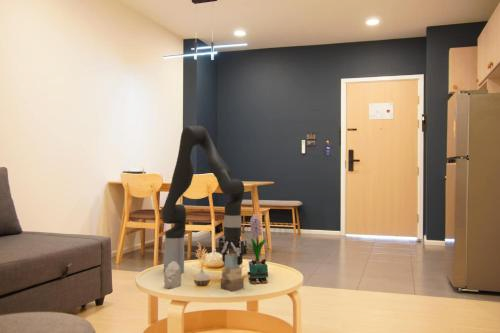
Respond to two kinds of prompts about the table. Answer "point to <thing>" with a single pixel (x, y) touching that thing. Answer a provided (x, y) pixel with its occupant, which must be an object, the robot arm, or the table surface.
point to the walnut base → (232, 284)
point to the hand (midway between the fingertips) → (232, 263)
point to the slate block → (231, 261)
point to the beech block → (231, 273)
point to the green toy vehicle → (258, 272)
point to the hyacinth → (257, 233)
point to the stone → (172, 275)
